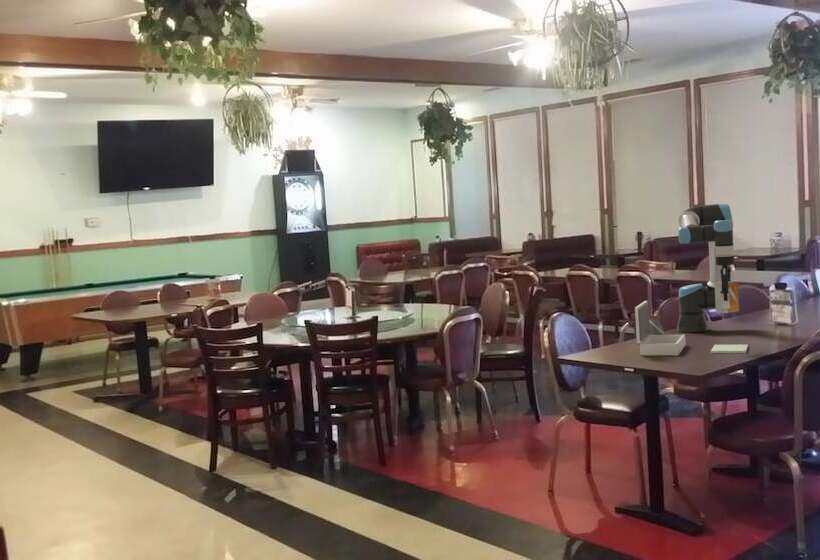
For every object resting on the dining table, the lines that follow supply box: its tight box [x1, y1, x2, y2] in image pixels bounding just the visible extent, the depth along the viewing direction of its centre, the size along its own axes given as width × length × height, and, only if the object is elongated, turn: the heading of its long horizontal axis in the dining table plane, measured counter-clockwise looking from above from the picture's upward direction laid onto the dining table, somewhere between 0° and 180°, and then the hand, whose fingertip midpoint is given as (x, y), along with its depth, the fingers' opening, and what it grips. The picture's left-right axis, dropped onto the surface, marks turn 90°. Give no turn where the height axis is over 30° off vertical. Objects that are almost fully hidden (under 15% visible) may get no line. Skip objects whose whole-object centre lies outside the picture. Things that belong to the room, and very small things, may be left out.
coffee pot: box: [649, 308, 667, 335], centre depth 396 cm, size 21×12×15 cm, turn 147°
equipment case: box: [634, 300, 686, 356], centre depth 373 cm, size 26×17×21 cm, turn 154°
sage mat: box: [710, 344, 749, 354], centre depth 361 cm, size 16×14×1 cm
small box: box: [715, 280, 740, 314], centre depth 359 cm, size 8×6×13 cm
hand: (727, 306), depth 359 cm, fingers closed on small box, 10 cm apart
